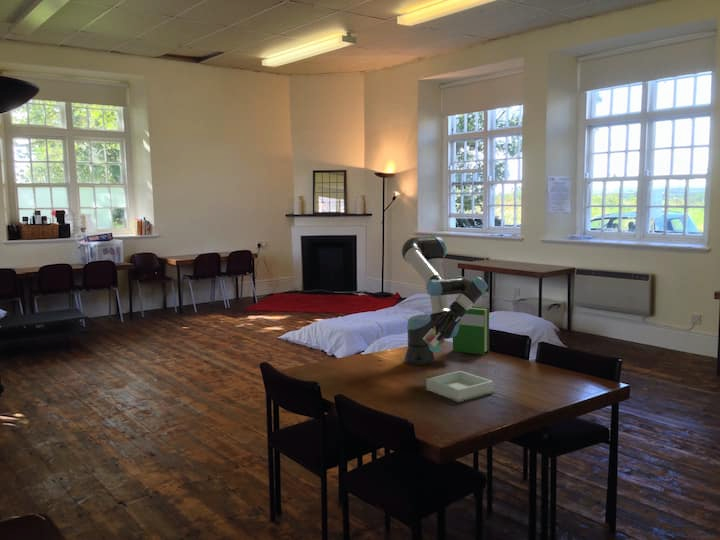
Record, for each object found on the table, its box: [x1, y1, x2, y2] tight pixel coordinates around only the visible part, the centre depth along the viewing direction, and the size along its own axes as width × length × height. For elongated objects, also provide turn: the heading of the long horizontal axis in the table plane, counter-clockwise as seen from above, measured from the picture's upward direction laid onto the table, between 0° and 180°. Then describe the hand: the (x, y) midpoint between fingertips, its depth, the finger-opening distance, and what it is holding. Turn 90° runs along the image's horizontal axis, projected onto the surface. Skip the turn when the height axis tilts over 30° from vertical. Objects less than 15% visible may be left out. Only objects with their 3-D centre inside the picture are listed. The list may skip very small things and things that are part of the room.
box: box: [425, 370, 494, 403], centre depth 261 cm, size 20×20×5 cm
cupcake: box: [426, 326, 445, 353], centre depth 278 cm, size 9×8×12 cm
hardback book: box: [452, 305, 490, 356], centre depth 327 cm, size 18×7×24 cm, turn 58°
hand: (428, 342), depth 277 cm, fingers closed on cupcake, 9 cm apart
